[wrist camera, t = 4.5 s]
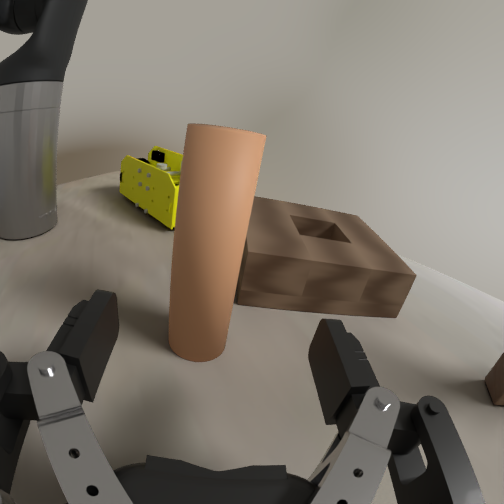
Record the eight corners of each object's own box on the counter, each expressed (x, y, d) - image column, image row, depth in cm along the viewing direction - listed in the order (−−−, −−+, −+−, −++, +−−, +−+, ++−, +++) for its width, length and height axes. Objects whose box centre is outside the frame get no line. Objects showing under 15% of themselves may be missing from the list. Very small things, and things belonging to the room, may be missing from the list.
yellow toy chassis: (205, 228, 39) (215, 165, 35) (168, 236, 35) (175, 166, 31) (148, 193, 48) (153, 144, 44) (117, 197, 44) (121, 145, 40)
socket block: (237, 304, 25) (248, 251, 23) (234, 230, 39) (241, 194, 37) (396, 317, 27) (416, 275, 25) (346, 248, 42) (357, 215, 40)
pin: (164, 357, 18) (181, 125, 12) (172, 319, 22) (193, 122, 16) (225, 364, 19) (270, 139, 13) (225, 326, 22) (262, 133, 16)
